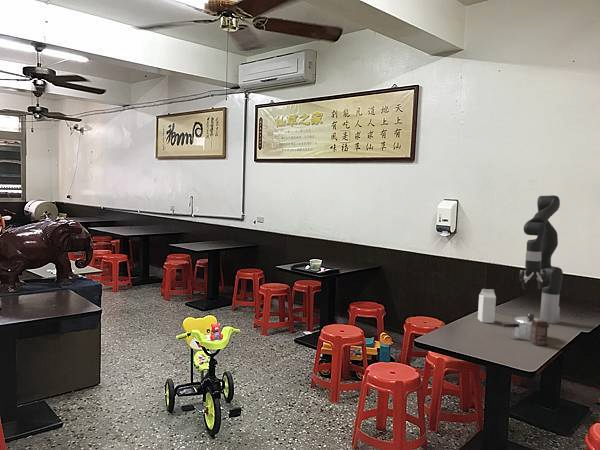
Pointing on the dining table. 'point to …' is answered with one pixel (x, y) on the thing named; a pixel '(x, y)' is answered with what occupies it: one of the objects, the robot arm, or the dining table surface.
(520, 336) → the pot
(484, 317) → the milk carton
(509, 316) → the dining table surface
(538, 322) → the box
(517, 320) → the lid
